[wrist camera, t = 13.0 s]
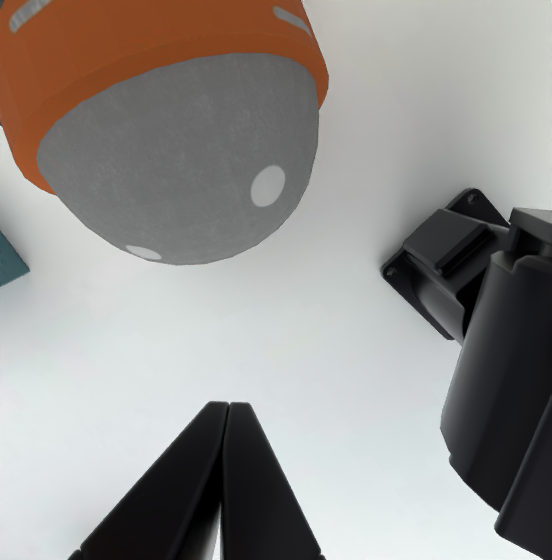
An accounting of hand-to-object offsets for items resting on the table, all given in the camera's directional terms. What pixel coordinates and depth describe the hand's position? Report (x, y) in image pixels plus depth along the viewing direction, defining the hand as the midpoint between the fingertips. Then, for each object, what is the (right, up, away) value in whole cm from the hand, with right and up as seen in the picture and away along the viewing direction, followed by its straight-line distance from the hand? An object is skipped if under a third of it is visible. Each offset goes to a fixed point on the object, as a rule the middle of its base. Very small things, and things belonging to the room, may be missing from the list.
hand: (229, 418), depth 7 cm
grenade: (-1, +3, +5) cm, 6 cm away
